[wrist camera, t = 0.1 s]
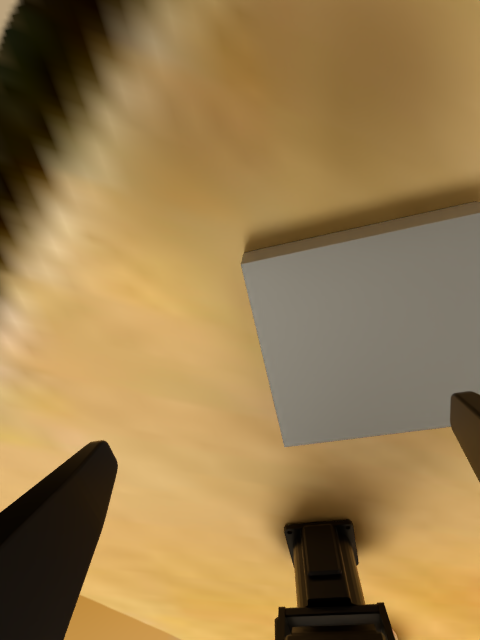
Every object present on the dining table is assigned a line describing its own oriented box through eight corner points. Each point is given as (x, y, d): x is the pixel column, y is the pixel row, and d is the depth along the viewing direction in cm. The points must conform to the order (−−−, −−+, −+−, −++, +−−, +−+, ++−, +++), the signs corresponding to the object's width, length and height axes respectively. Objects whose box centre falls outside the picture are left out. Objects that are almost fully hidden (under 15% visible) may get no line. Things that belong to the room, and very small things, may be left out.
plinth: (467, 393, 24) (492, 421, 22) (282, 419, 27) (284, 447, 24) (475, 201, 19) (511, 205, 16) (243, 252, 21) (240, 264, 19)
